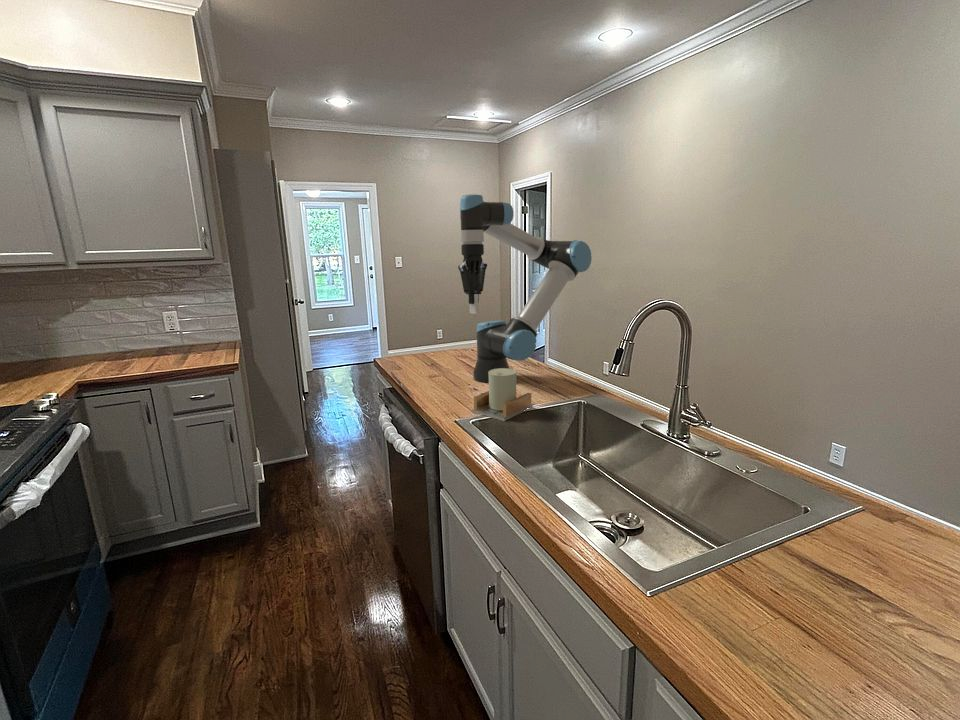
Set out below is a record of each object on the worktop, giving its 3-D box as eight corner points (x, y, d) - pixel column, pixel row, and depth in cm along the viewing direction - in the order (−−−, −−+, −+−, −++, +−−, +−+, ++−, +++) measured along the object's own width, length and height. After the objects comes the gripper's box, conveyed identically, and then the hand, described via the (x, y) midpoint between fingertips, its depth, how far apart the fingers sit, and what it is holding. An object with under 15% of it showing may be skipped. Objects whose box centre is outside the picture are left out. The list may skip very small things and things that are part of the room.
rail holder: (501, 399, 166) (501, 385, 165) (532, 406, 158) (533, 392, 157) (471, 412, 154) (471, 397, 153) (504, 421, 146) (504, 405, 145)
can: (483, 408, 154) (483, 372, 151) (496, 399, 162) (495, 365, 159) (509, 412, 150) (509, 375, 147) (521, 403, 157) (521, 368, 155)
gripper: (476, 243, 167) (477, 310, 173) (451, 243, 158) (453, 314, 163) (493, 242, 163) (494, 311, 168) (468, 243, 153) (470, 316, 159)
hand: (474, 313), depth 166 cm, fingers closed
